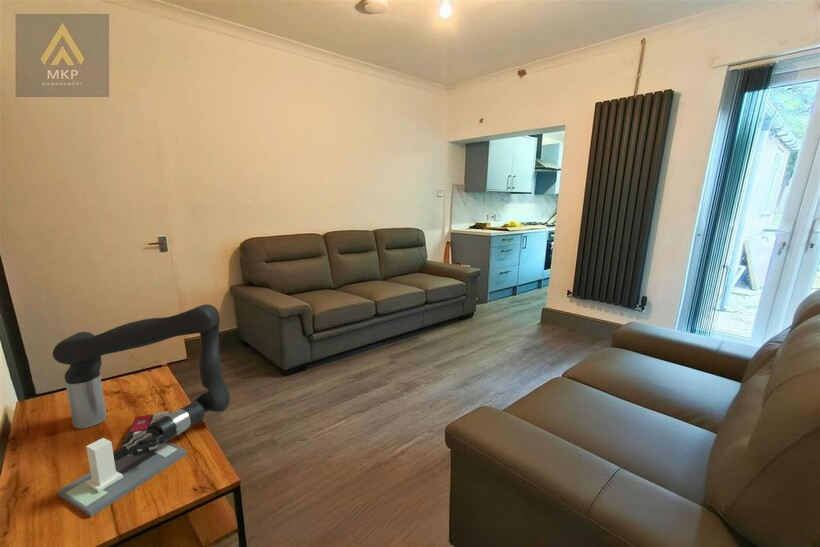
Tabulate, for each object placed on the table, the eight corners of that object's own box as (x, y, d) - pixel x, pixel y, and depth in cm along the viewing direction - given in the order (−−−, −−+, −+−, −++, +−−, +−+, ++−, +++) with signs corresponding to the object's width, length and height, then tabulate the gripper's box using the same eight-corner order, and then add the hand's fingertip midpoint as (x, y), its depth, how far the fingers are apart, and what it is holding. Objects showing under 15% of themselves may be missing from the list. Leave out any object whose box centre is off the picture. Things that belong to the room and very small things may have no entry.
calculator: (171, 409, 135) (164, 430, 121) (172, 419, 135) (165, 442, 122) (135, 416, 130) (123, 439, 117) (136, 427, 131) (125, 451, 117)
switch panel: (58, 495, 99) (57, 490, 99) (155, 439, 123) (155, 435, 122) (90, 517, 93) (90, 512, 93) (187, 454, 117) (186, 450, 116)
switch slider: (86, 484, 101) (79, 447, 99) (110, 470, 106) (105, 434, 104) (98, 492, 99) (92, 454, 96) (123, 477, 104) (117, 440, 102)
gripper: (156, 410, 121) (95, 440, 105) (183, 421, 115) (122, 455, 100) (159, 430, 122) (98, 463, 107) (185, 441, 117) (125, 478, 101)
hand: (110, 459), depth 103 cm, fingers closed
